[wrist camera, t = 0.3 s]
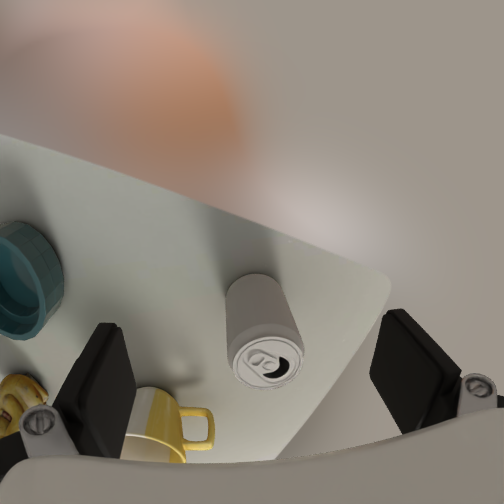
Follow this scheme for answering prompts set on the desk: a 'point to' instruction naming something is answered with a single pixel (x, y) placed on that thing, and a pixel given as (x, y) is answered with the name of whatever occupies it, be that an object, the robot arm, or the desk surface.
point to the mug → (161, 428)
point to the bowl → (27, 281)
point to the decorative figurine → (18, 400)
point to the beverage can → (261, 334)
